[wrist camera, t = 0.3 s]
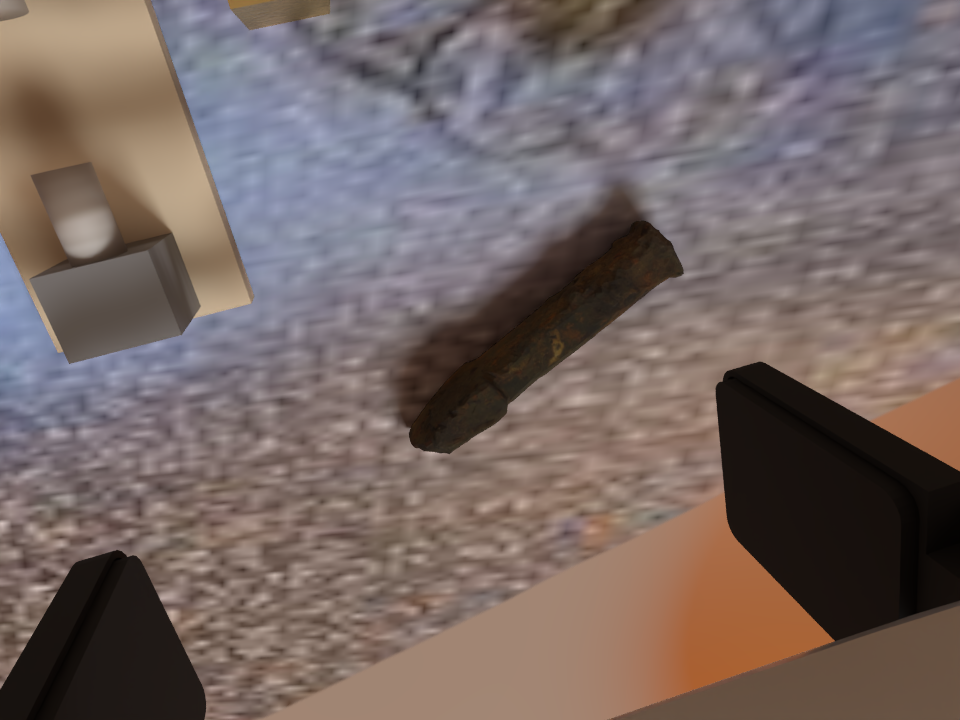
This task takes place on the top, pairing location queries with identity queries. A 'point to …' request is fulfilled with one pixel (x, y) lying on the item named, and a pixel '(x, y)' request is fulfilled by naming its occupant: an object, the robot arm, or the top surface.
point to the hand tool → (545, 339)
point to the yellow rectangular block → (276, 11)
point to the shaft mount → (107, 179)
